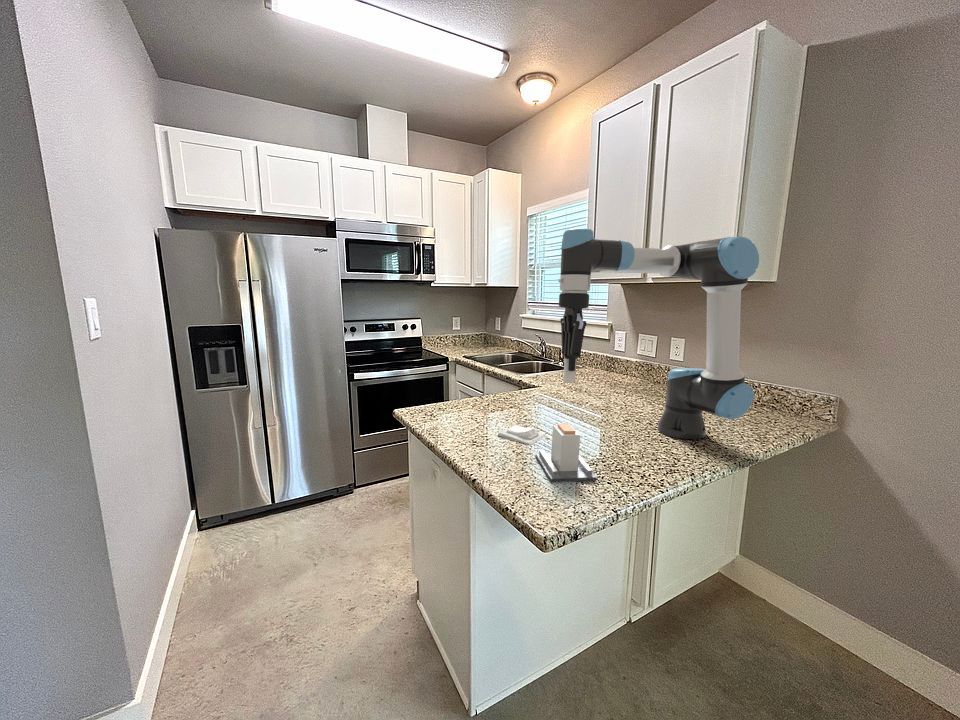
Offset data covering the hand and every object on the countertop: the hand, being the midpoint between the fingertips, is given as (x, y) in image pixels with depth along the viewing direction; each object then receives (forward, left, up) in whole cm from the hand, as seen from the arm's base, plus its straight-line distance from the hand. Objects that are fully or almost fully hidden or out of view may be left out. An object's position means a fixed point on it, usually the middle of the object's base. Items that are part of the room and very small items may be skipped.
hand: (569, 382), depth 103 cm
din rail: (0, 0, -24) cm, 24 cm away
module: (0, 0, -23) cm, 23 cm away
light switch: (+6, -25, -25) cm, 36 cm away
